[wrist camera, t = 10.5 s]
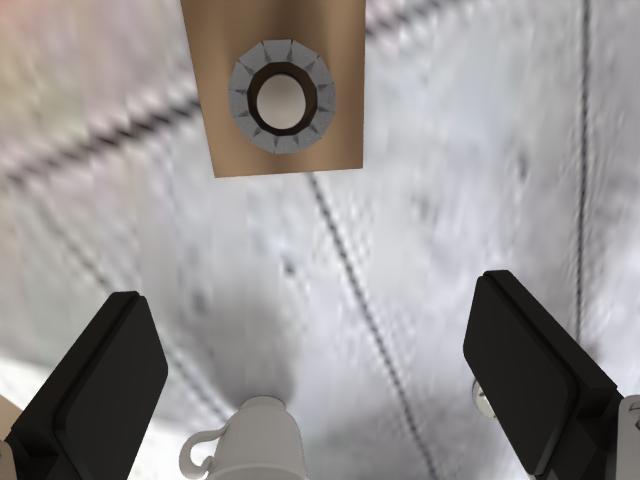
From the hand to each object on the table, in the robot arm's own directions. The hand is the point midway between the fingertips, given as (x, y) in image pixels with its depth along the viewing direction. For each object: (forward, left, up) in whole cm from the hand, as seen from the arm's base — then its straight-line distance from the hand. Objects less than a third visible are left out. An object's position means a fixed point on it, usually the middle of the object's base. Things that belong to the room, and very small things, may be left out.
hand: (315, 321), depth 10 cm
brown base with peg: (+1, -3, -22) cm, 22 cm away
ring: (+1, -3, -20) cm, 21 cm away
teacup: (+8, +33, -22) cm, 40 cm away
